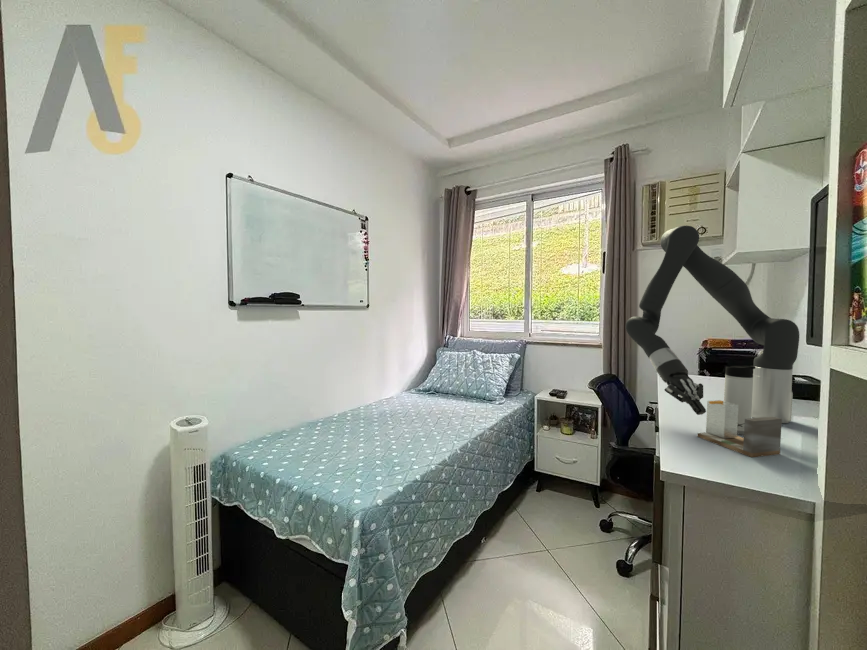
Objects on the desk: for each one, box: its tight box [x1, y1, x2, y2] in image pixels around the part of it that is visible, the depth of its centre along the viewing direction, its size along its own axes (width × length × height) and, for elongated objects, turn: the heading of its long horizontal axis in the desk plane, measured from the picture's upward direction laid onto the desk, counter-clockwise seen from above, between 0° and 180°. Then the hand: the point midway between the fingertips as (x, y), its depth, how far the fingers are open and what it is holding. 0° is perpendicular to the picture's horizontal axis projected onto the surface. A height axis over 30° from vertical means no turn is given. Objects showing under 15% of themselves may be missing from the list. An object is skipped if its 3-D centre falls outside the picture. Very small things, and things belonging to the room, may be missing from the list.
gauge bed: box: [696, 416, 783, 458], centre depth 93 cm, size 14×9×9 cm, turn 12°
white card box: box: [705, 399, 738, 439], centre depth 97 cm, size 5×6×10 cm
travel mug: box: [723, 365, 755, 436], centre depth 103 cm, size 6×7×20 cm
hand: (702, 413), depth 102 cm, fingers closed
